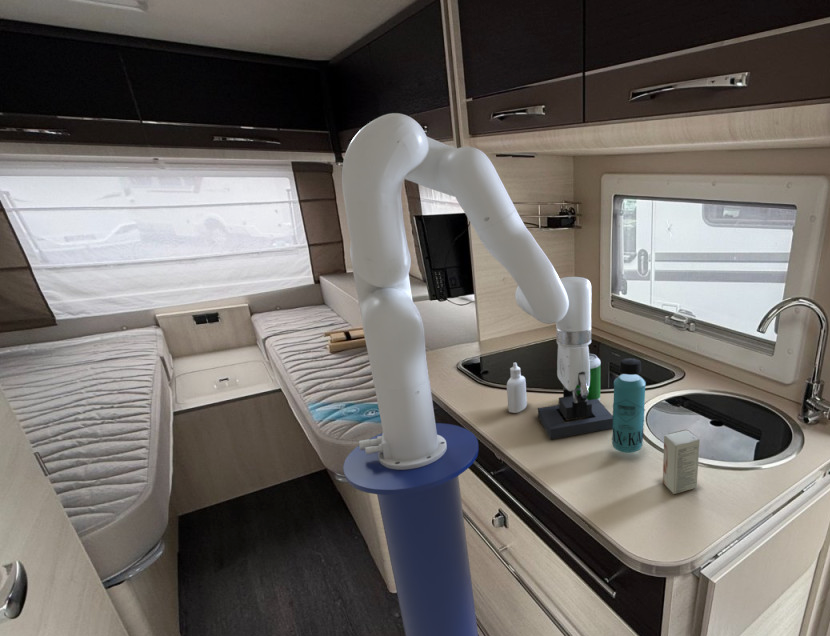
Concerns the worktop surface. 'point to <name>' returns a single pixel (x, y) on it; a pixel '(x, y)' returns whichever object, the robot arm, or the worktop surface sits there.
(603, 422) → the socket block
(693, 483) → the medicine box
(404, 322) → the robot arm
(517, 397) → the eye dropper bottle
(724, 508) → the worktop surface
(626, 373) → the beverage bottle
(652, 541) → the worktop surface
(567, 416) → the black block
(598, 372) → the soda can
